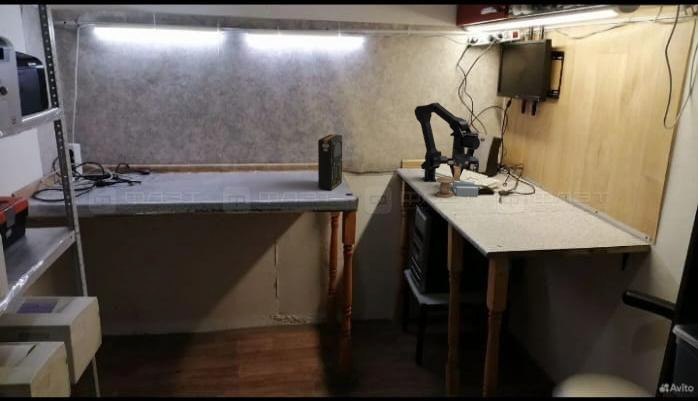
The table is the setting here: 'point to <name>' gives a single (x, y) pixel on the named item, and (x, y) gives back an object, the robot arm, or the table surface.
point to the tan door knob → (444, 187)
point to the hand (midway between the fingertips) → (456, 177)
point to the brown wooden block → (456, 173)
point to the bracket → (465, 189)
